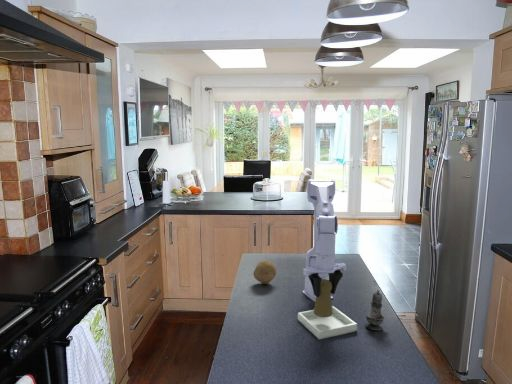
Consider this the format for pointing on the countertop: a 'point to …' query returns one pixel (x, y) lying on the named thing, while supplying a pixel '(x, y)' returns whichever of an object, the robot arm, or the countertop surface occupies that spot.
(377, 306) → the gray chess piece
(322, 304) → the cork
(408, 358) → the countertop surface
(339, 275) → the robot arm
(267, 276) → the natural sponge
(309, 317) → the tray
